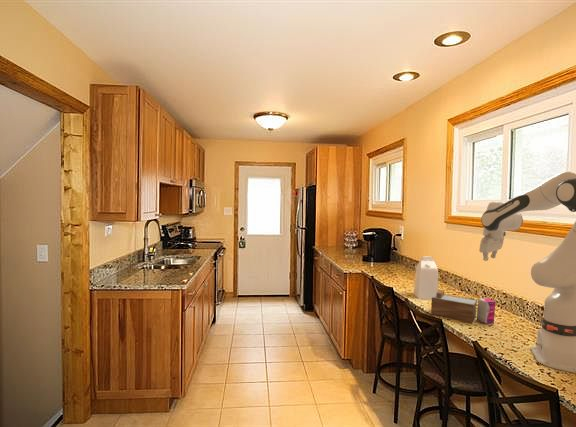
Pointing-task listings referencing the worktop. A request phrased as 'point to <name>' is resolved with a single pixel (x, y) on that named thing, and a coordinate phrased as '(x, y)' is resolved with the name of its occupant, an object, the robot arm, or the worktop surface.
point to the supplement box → (486, 311)
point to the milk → (426, 278)
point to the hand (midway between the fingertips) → (489, 259)
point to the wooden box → (453, 309)
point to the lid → (453, 298)
